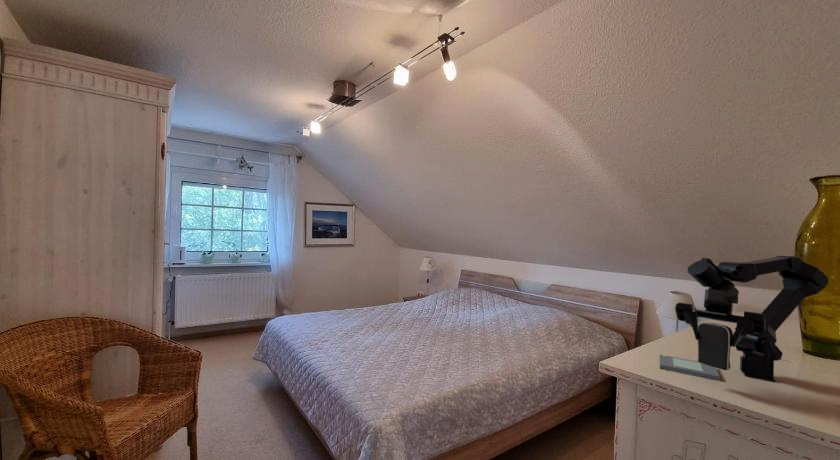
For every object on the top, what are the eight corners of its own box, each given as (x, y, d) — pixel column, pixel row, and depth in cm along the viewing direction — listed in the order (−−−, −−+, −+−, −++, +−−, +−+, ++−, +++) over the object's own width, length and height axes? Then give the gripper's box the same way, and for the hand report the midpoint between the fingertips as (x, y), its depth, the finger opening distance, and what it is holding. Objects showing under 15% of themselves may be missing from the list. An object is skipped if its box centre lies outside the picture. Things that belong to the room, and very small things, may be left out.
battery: (735, 370, 90) (735, 326, 90) (726, 371, 89) (727, 327, 89) (704, 360, 97) (705, 320, 97) (696, 362, 95) (697, 321, 95)
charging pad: (714, 368, 107) (714, 364, 107) (719, 380, 97) (719, 375, 97) (659, 358, 115) (659, 353, 115) (659, 368, 105) (659, 363, 105)
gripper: (677, 275, 103) (667, 317, 95) (765, 282, 89) (762, 332, 81) (681, 298, 108) (673, 340, 100) (765, 309, 94) (763, 358, 87)
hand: (714, 342), depth 92 cm, fingers closed on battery, 7 cm apart
